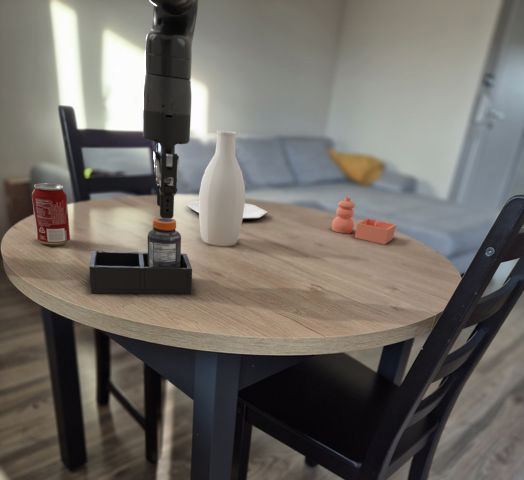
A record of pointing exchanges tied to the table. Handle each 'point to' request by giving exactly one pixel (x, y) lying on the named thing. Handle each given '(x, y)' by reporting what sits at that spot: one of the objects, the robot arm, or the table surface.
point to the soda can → (51, 214)
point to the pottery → (362, 225)
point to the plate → (248, 212)
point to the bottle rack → (137, 274)
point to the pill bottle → (164, 244)
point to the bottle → (222, 194)
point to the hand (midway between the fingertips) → (164, 211)
